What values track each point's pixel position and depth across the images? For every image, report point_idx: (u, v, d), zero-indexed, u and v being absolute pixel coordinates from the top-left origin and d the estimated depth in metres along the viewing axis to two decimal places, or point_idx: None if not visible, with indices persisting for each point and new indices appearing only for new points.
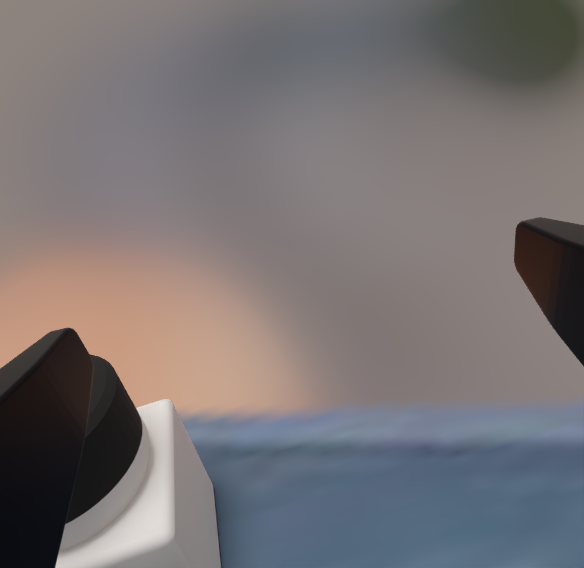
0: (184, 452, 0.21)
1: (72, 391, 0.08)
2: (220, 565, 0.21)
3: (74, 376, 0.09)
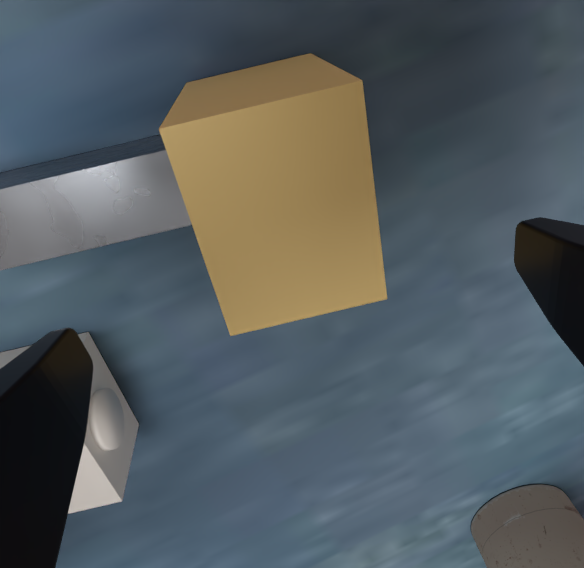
0: None
1: (72, 391, 0.08)
2: None
3: (74, 376, 0.09)
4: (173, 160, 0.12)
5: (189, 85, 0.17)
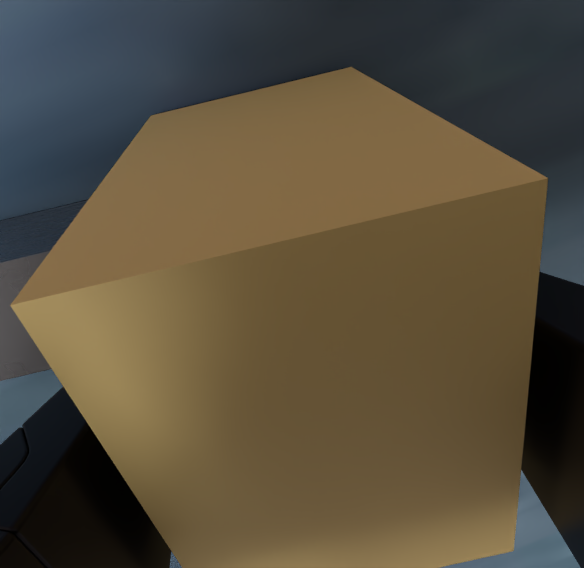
0: None
1: None
2: None
3: None
4: (60, 366, 0.05)
5: (152, 124, 0.10)
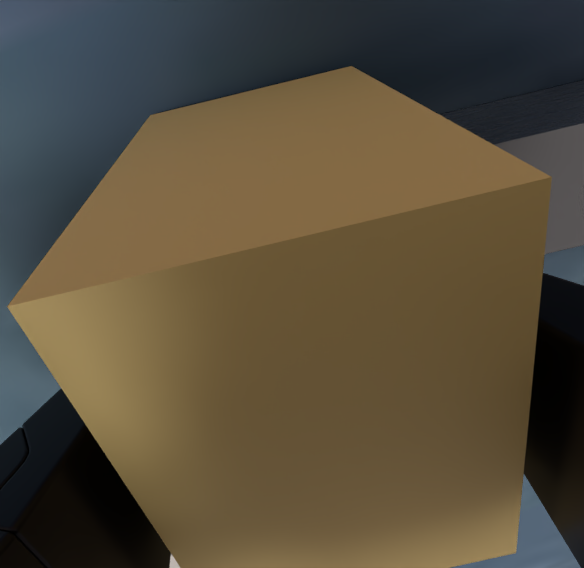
0: None
1: None
2: None
3: None
4: (58, 368, 0.05)
5: (151, 123, 0.10)
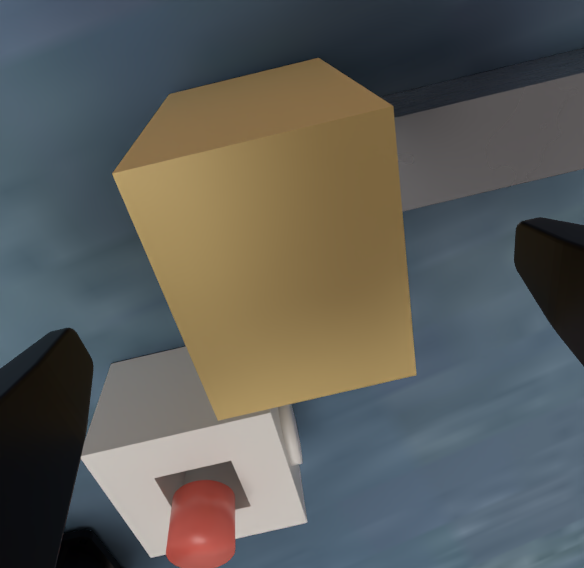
0: None
1: (72, 391, 0.08)
2: None
3: (74, 376, 0.09)
4: (134, 214, 0.08)
5: (171, 98, 0.14)
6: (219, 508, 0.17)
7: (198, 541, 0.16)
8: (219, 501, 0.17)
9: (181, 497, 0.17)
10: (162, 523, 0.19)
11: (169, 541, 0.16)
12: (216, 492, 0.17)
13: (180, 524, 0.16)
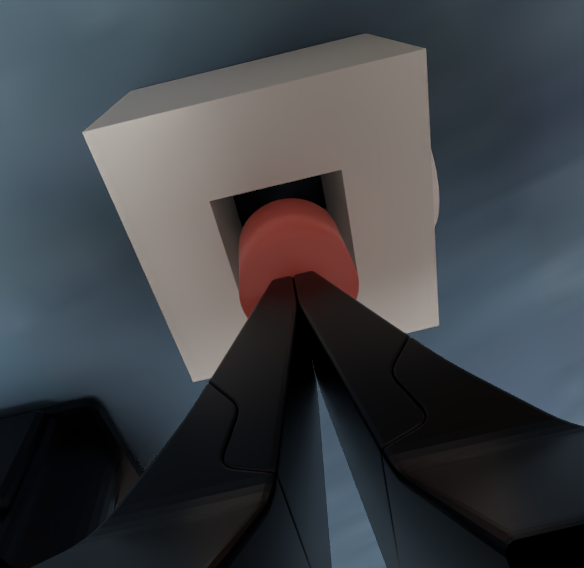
0: None
1: (306, 337, 0.08)
2: None
3: None
4: None
5: None
6: (328, 227, 0.10)
7: (298, 266, 0.09)
8: (325, 221, 0.10)
9: (259, 218, 0.10)
10: (216, 309, 0.12)
11: (246, 263, 0.09)
12: (318, 211, 0.10)
13: (264, 237, 0.09)
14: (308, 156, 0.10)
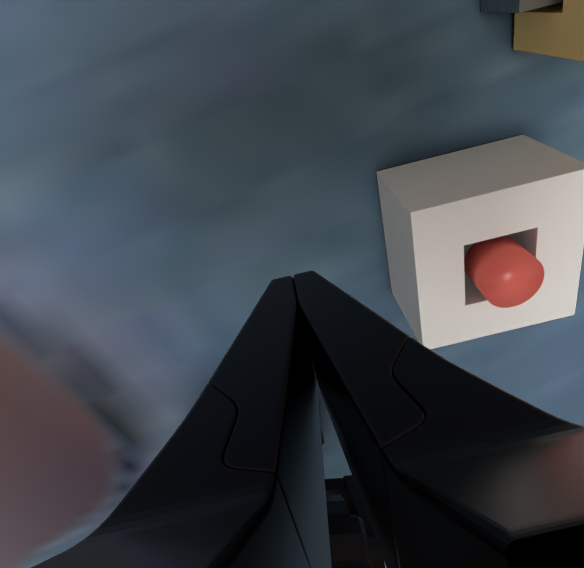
0: None
1: (306, 337, 0.08)
2: None
3: None
4: None
5: None
6: (524, 249, 0.19)
7: (517, 269, 0.18)
8: None
9: (484, 244, 0.19)
10: (449, 305, 0.20)
11: (491, 268, 0.18)
12: (514, 240, 0.19)
13: (498, 255, 0.18)
14: (521, 221, 0.18)
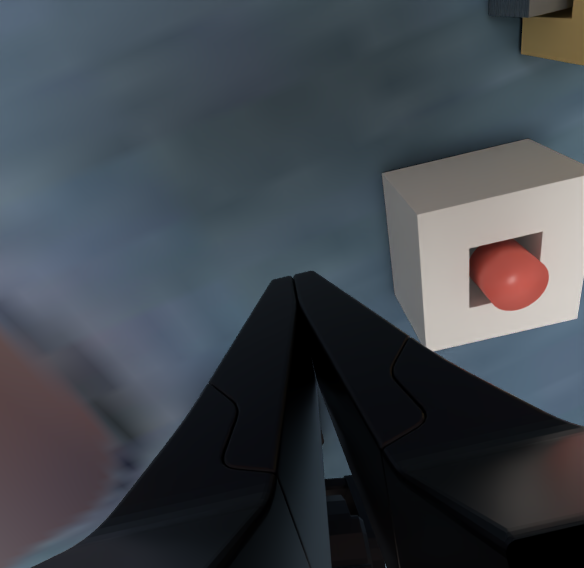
0: None
1: (306, 337, 0.08)
2: None
3: None
4: None
5: None
6: (528, 253, 0.19)
7: (522, 272, 0.18)
8: (525, 249, 0.19)
9: (489, 247, 0.19)
10: (453, 308, 0.20)
11: (497, 271, 0.18)
12: (519, 244, 0.19)
13: (504, 258, 0.18)
14: (527, 224, 0.18)
